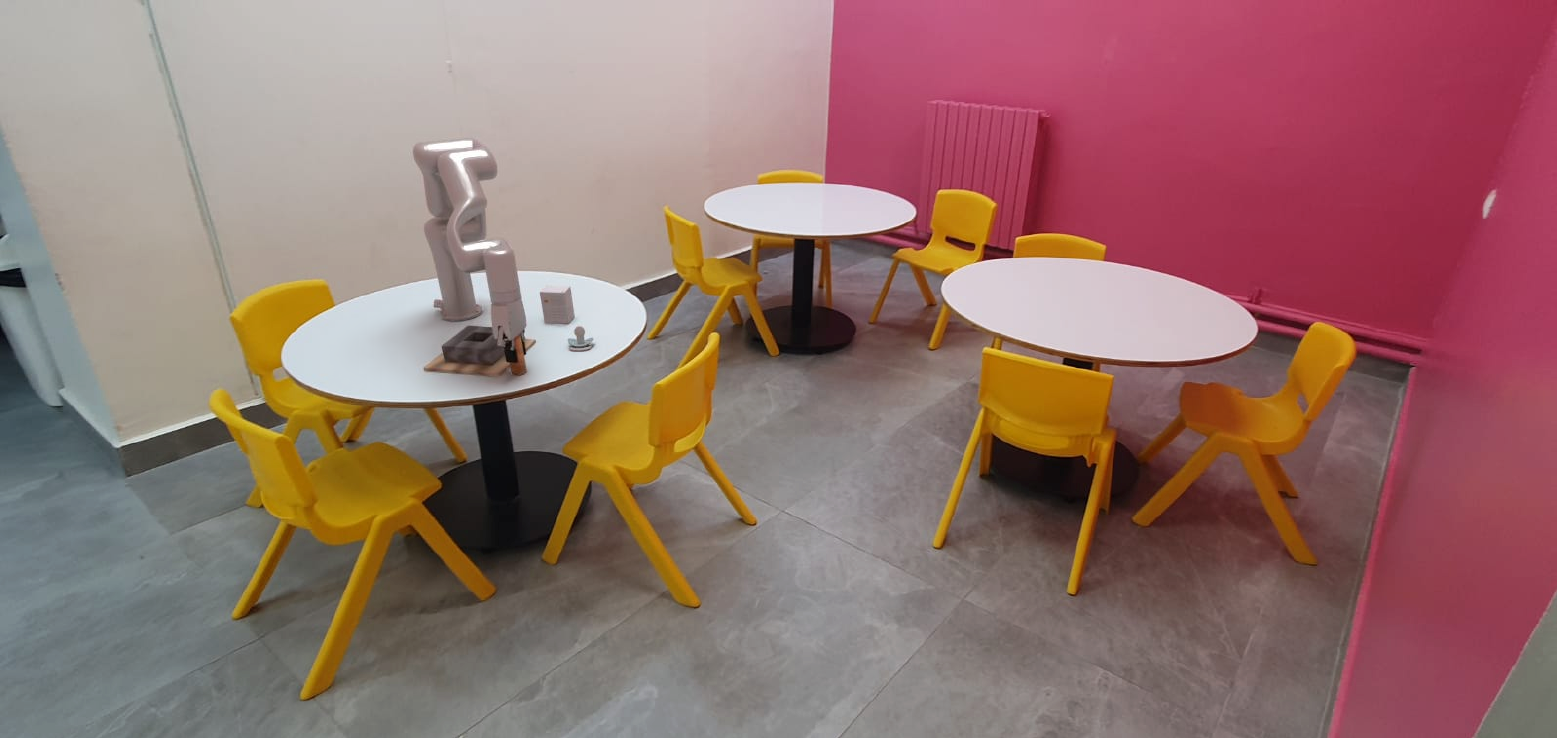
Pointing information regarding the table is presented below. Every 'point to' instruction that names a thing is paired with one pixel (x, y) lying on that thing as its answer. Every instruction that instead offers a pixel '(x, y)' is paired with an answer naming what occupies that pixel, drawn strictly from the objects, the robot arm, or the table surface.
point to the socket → (473, 353)
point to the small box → (557, 304)
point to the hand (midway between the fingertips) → (516, 357)
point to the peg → (520, 366)
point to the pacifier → (579, 340)
